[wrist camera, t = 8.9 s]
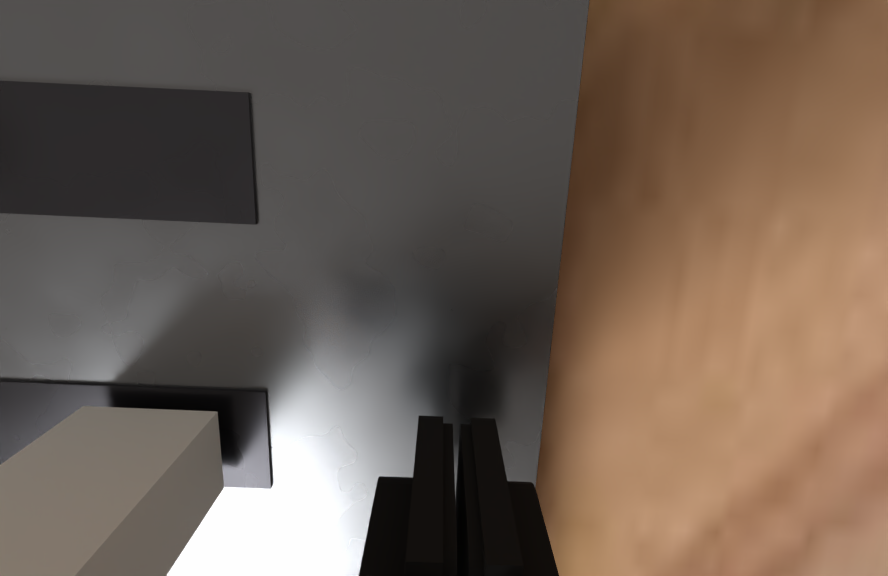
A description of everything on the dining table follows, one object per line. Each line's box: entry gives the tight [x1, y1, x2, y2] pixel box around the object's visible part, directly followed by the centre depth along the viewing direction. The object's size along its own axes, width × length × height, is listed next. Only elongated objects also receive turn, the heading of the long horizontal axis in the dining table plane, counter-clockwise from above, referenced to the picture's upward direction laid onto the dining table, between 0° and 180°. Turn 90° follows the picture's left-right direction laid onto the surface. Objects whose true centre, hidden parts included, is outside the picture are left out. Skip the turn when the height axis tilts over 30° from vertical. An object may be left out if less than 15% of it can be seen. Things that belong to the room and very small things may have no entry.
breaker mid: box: [0, 406, 224, 576], centre depth 9 cm, size 3×2×5 cm, turn 87°
